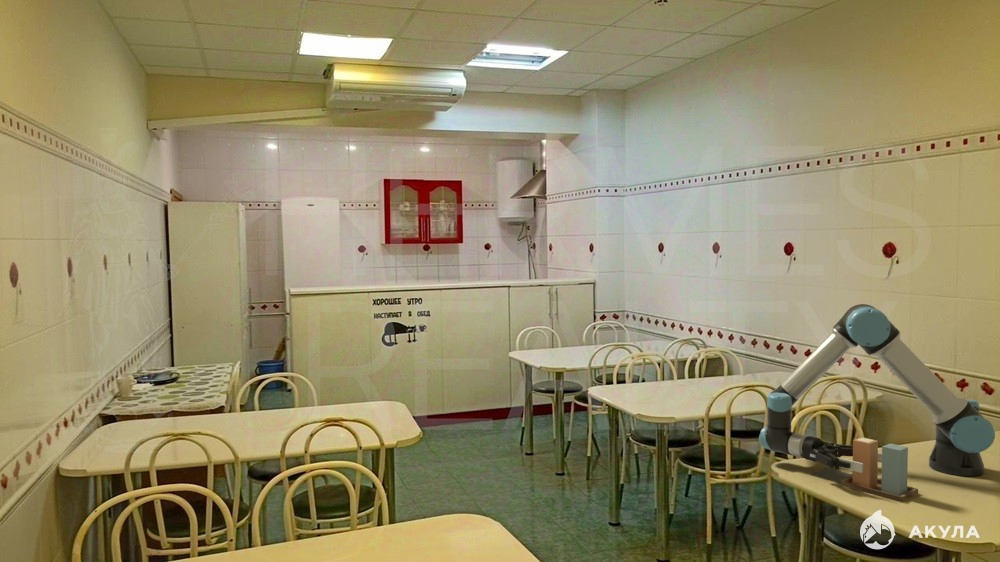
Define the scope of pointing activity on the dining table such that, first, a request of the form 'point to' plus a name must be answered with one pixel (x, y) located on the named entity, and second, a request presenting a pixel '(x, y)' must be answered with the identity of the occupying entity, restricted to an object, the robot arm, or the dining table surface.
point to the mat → (831, 474)
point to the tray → (879, 490)
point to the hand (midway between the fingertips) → (873, 463)
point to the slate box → (894, 469)
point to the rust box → (866, 461)
